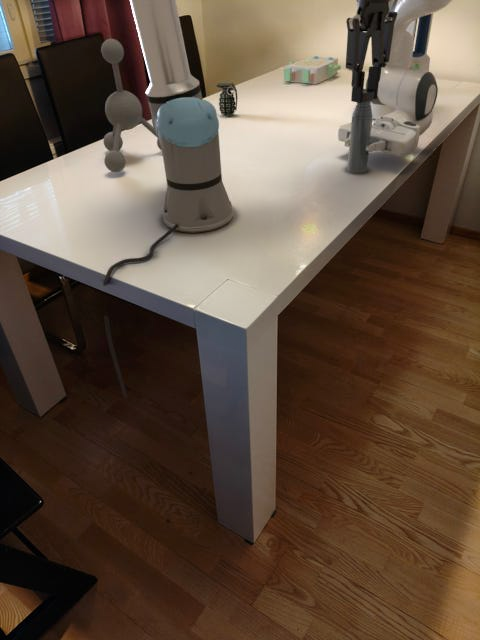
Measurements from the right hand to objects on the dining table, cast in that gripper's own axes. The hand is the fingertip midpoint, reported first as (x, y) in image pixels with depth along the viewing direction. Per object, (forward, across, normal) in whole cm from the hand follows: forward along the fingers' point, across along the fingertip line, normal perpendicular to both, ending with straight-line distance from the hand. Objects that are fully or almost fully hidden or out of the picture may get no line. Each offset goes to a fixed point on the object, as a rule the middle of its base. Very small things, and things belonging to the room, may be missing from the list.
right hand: (357, 146), depth 120 cm
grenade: (-14, -64, +6) cm, 66 cm away
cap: (-1, 0, -12) cm, 12 cm away
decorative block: (-74, -76, +6) cm, 106 cm away
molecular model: (+30, -53, +6) cm, 61 cm away
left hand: (-1, 0, -11) cm, 11 cm away
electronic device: (-76, -32, +6) cm, 82 cm away
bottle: (-1, 0, +6) cm, 6 cm away
